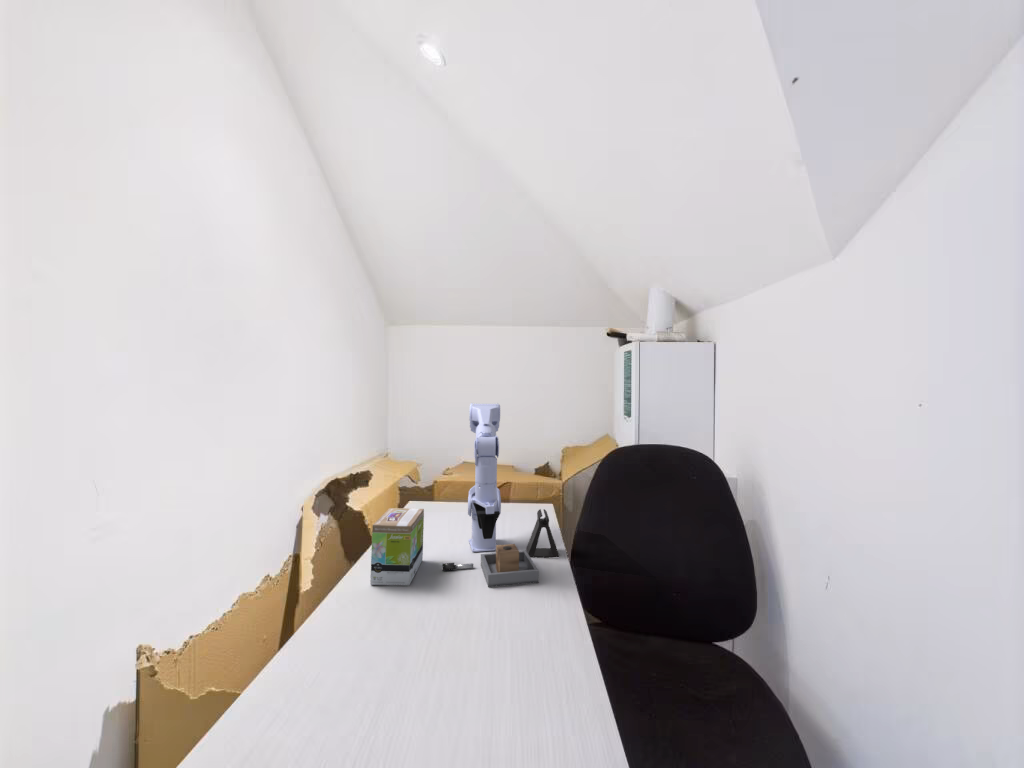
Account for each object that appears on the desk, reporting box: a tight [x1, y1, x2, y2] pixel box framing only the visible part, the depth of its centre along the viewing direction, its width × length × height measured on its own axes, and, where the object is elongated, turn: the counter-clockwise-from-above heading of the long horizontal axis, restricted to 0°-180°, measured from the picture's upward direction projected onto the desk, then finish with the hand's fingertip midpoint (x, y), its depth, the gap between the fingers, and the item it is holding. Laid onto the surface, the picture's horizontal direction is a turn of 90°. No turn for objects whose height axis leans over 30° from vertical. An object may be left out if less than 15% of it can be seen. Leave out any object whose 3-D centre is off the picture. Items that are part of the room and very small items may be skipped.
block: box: [495, 543, 520, 573], centre depth 109 cm, size 5×5×6 cm
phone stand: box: [526, 508, 560, 559], centre depth 122 cm, size 9×6×12 cm, turn 90°
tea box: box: [369, 507, 425, 586], centre depth 109 cm, size 15×10×15 cm
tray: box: [480, 550, 540, 588], centre depth 109 cm, size 13×13×3 cm
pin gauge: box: [442, 562, 474, 572], centre depth 111 cm, size 8×2×2 cm, turn 103°
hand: (485, 533), depth 112 cm, fingers open, 7 cm apart
